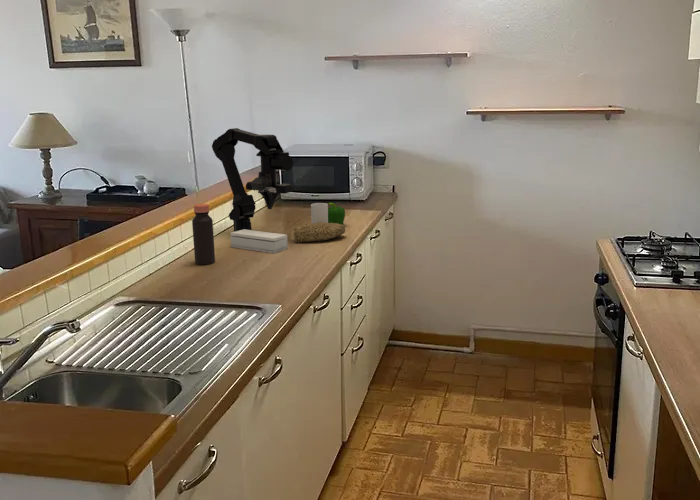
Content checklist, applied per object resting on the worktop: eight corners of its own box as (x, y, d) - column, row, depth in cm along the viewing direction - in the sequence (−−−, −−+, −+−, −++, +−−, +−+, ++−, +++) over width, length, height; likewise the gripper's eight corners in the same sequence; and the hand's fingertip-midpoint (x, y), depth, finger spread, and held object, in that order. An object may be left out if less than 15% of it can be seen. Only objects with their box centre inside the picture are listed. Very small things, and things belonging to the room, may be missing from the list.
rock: (296, 248, 262) (348, 235, 262) (291, 228, 261) (343, 215, 262) (297, 246, 275) (346, 234, 276) (292, 226, 274) (341, 214, 275)
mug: (325, 236, 273) (324, 206, 270) (309, 235, 275) (308, 205, 272) (333, 230, 283) (332, 201, 280) (317, 230, 284) (316, 201, 281)
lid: (230, 235, 258) (230, 232, 258) (244, 231, 265) (244, 229, 265) (274, 241, 248) (274, 238, 248) (287, 237, 255) (287, 234, 255)
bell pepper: (346, 224, 295) (345, 200, 292) (344, 228, 287) (343, 204, 285) (326, 223, 296) (326, 200, 293) (324, 228, 288) (323, 204, 285)
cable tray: (231, 246, 259) (230, 236, 258) (244, 242, 266) (244, 232, 265) (274, 253, 250) (274, 242, 248) (287, 248, 256) (287, 237, 255)
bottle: (208, 258, 244) (204, 202, 239) (219, 262, 239) (215, 204, 234) (191, 262, 239) (187, 205, 234) (202, 266, 234) (198, 207, 229)
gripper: (235, 169, 261) (237, 210, 265) (275, 173, 252) (276, 215, 256) (254, 166, 270) (255, 205, 275) (293, 169, 261) (294, 210, 265)
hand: (270, 209), depth 267 cm, fingers closed
